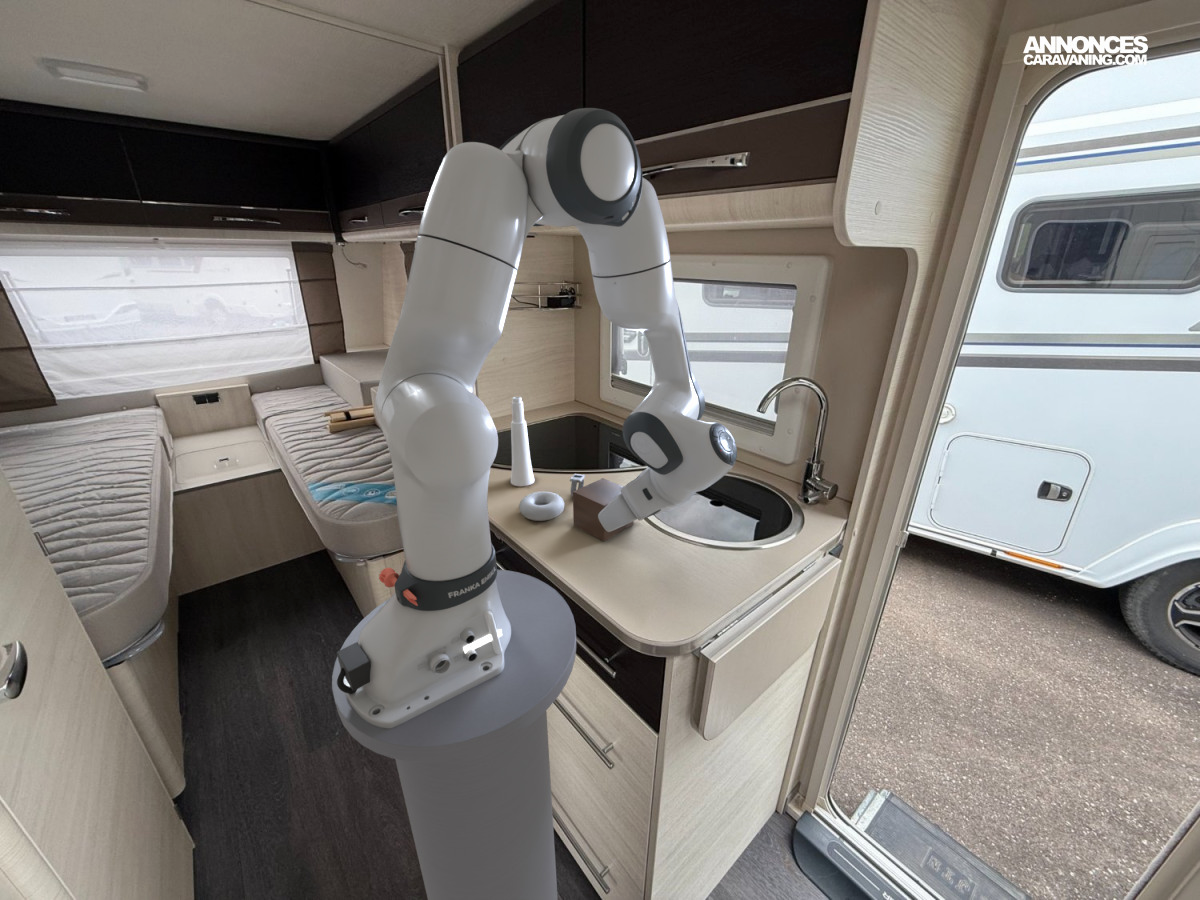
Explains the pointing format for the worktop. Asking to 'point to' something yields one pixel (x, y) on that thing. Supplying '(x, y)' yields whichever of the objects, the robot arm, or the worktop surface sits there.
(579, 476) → the wristwatch
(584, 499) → the walnut block
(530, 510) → the donut
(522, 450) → the cosmetic bottle
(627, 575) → the worktop surface
